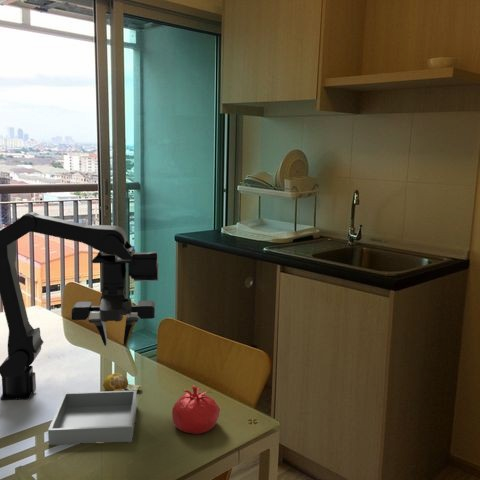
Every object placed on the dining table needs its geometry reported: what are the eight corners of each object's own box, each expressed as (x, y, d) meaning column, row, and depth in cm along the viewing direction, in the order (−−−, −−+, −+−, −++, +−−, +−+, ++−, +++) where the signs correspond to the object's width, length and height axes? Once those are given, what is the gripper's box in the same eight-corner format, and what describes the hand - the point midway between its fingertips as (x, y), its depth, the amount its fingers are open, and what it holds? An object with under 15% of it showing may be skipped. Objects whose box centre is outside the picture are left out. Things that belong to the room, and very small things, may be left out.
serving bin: (48, 449, 105) (48, 430, 105) (64, 409, 121) (63, 392, 120) (132, 445, 107) (131, 426, 107) (136, 406, 123) (136, 390, 122)
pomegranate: (201, 445, 108) (201, 402, 107) (162, 430, 113) (162, 389, 112) (228, 424, 117) (229, 384, 115) (191, 411, 122) (191, 372, 120)
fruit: (117, 400, 125) (116, 385, 124) (94, 392, 129) (93, 377, 129) (143, 387, 131) (143, 373, 131) (120, 380, 136) (119, 366, 136)
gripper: (65, 290, 116) (68, 359, 118) (153, 289, 118) (154, 357, 121) (74, 278, 127) (76, 341, 129) (155, 277, 129) (155, 339, 132)
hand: (115, 344), depth 128 cm, fingers open, 4 cm apart
